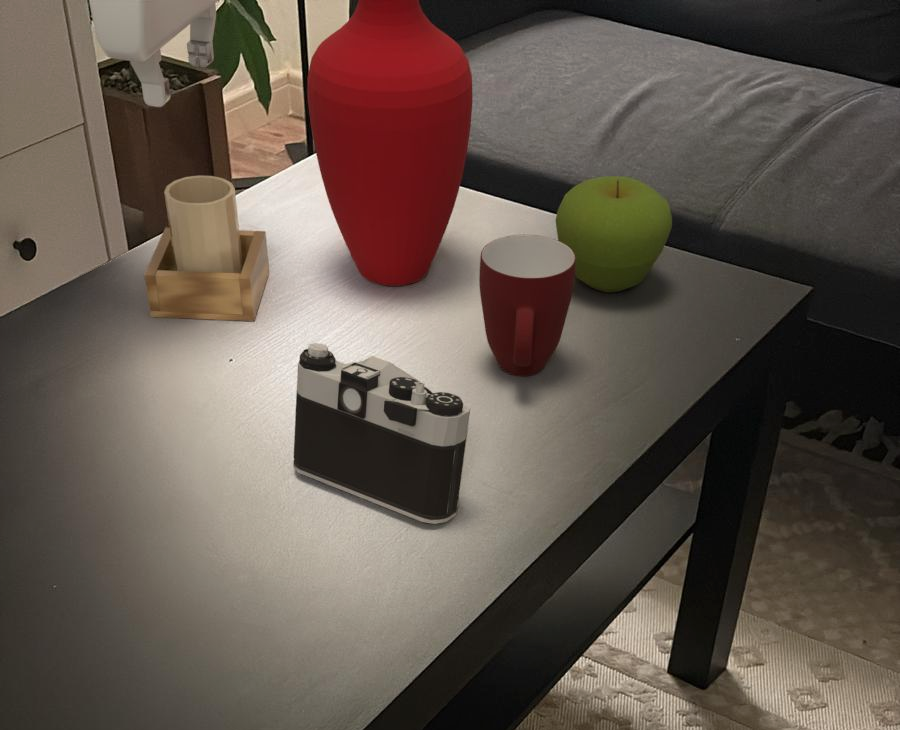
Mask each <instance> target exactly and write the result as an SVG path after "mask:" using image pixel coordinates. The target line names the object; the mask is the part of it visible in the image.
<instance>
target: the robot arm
mask: <svg viewBox="0 0 900 730" xmlns="http://www.w3.org/2000/svg"><path fill="white" fill-rule="evenodd" d="M219 1H220V0H88V3H89V7H90V12H91V13H90V14H91V17H92V22H93V28H94V32H95V35H96V40H97V43H98V44H99V46H100V48H101V50H102V51H103V53H104V54H105V55H106V57H108V58H110V59H114V60H121V61H126V62H127V61H129V63H130V65H131V67H132V69H133V71H134V73H135V74H136V76H137V78H138V80H139V82H140V83H141V84H140V85H141V90H142V97H143V101H144V104H146V105H147V106H148V107H155V108H162V107H163V106H165V105H166V103H168V102H169V101H170V99H171V98H172V95H171V91H170V80H169V78H168V77H164V73H163V72H162V69H161V66H160V62H161V61H162V51H161V49H162V48H163V47H164V46H165V45H167V43H169V42H170V41H172V40H173V39H174V38H175V37H176V36H178V35H179V34H180V33H181V32H183V31H184V30H185V29H186V28H188V27H189V41H188V42H187V43H186V49H187V51H186V52H187V54H188V56H187V58H188V63H189V64H190V66H192V67H194V68H198V67H199V68H203V69H204V68H206V67H207V66H209V65H210V64H211V63H212V62H214V59H215V56H214V55H215V54H214V44H213V40H214V35H215V27H216V20H217V5H216V3H218V2H219Z"/></svg>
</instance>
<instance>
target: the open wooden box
mask: <svg viewBox="0 0 900 730" xmlns="http://www.w3.org/2000/svg"><path fill="white" fill-rule="evenodd" d="M239 232H240V242H241V251H242V260H243V269H242V272H241V274H240V273H215V272H189V271H176V268H175V262H174V255H173V248H172V241H171V235H170V228H169V227H164V229H163V232H162V234H161V236H160V238H159V240H158V242H157V245H156V247H155V250H154V252H153V254H152V256H151V258H150V261H149V262H148V266H147V267H146V270H145V272H144V274H143V277H144V282H145V283H144V284H145V288H146V293H147V295H146V296H147V300H148V305H149V313H150V318H164V319H165V318H169V319H191V320H194V319H195V320H214V321H215V320H216V321H217V320H218V321H241V322H242V321H243V322H255V319H256V317H257V313H258V311H259V307H260V303H261V300H262V297H263V294H264V291H265V288H266V285H267V284H266V283H267V281H268V277H269V275H270V267H269V266H270V265H269V254H268V244H267V233H266V230H243V229H242V230H241V229H239Z"/></svg>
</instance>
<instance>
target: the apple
mask: <svg viewBox="0 0 900 730" xmlns="http://www.w3.org/2000/svg"><path fill="white" fill-rule="evenodd" d="M555 227H556V233H557V234H556V236H557V240H558V241H560V242H562V243H564V244H566V245H567V246H568V247H570V248H571V249H572V251H573V252H574V254H575V257H576V264H575V277H576V278H577V279H579V280H580V281H581V282H583V283H584V284H585V285H587V286H588V287H589V288H592V289H594V290H596V291H599V292H603V293H611V294H612V293H618V292H621V291H624V290H626V289H627V290H628V289H629V288H632V287H634V286H636V285H638V284H640V283H641V282H642V281H643V280H644V279H645V277H646V276H647V275H648V273H649V272H650V270H651V269H652V267H653V266H654V264H655V263H656V262H657V260H658V258H660V256H661V254H662V253H663V250H664V248H665V245H666V243H667V242H668V238H669V236H670V233H671V230H672V227H673V215H672V212H671V207H670V202H669V201H668V200H667V199H666V198H665V197H664V196H662V195H661V194H660V193H659V192H658V191H656V190H655V189H653V187H651V186H649V185H648V184H646V183H644V182H643V181H641V180H639V179H635V178H632V177H629V176H617V175H616V176H614V175H611V176H597V177H592V178H590V179H586V180H584V181H582V182H580V183H578V184H577V185H575V186H573V187H572V188H571V189H570V190H569V191H567V192H566V193H565V194H564V196H563V198H562V201H561V203H560V204H559V206H558V209H557V210H556V216H555Z"/></svg>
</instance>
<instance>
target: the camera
mask: <svg viewBox="0 0 900 730" xmlns="http://www.w3.org/2000/svg"><path fill="white" fill-rule="evenodd" d="M296 373H297V375H296V395H295V397H296V398H295V415H294V416H295V419H294V437H293V465H292V466H293V467H292V468H293V469H294V470H295V472H297V473H298V474H301V475H303V476H305V477H309V478H311V479H313V480H316V481H318V482H320V483H324V484H325V485H328V486H331V487H334V488H336V489H339V490H341V491H344V492H347V493H348V494H351V495H353V496H356V497H358V498H362V499H363V500H366V501H367V502H368V501H369V502H371V503H374V504H376V505H378V506H381V507H383V508H386V509H389V510H391V511H394V512H396V513H399V514H402V515H403V516H407V517H409V518H411V519H414V520H416V521H419V522H421V523H428V524H433V525H436V524H443V523H447V522H448V521H450V520H452V519H453V518H454V517H456V516H457V513H458V506H459V498H460V491H461V483H462V475H463V468H464V459H465V452H466V446H467V438H468V430H469V423H470V414H471V408H470V407H468V406H465V405H464V402H463V400H462V399H461V397H460V396H458V395H456V394H453V393H449V392H443V391H438V392H432V391H431V390H430V389H429V388H428V387H426V386H425V383H424V382H421V381H420V380H419V379H418V378H416V377H414V376H413V375H411V374H410V373H408V372H406V371H405V370H404V369H402V368H400V367H398V366H397V365H395V364H394V363H392V362H391V361H388V360H385V359H382V358H379V357H376V356H373V355H371V356H369V357H367V358H365V359H363V360H360V361H352V362H349V363H344V362H342V361H338V360H337V358H336V357H335V355H334V353H333V352H332V351H330V350H329V346H328V345H326V344H324V343H319V342H314V343H309V344H308V347H307V348H304V349H303V351H302V352H301V353H300V354H299V360H298V363H297V372H296Z"/></svg>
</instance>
